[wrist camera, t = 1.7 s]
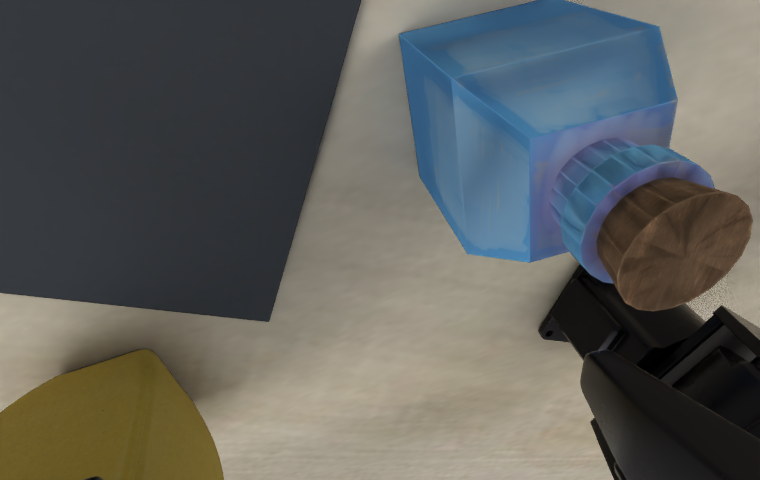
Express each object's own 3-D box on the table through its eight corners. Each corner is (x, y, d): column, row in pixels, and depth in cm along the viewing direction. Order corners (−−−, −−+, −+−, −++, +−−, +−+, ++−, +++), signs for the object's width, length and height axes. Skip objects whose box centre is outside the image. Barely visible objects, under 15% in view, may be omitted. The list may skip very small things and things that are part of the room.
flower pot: (242, 413, 28) (236, 588, 21) (95, 461, 28) (36, 656, 21) (170, 306, 23) (129, 487, 16) (-11, 363, 23) (-139, 575, 15)
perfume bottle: (398, 33, 18) (556, 166, 9) (552, -4, 19) (867, 83, 9) (419, 176, 22) (548, 384, 12) (548, 142, 22) (772, 318, 13)
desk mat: (404, -156, 15) (406, -157, 15) (268, 318, 25) (269, 322, 25) (-66, -385, 11) (-73, -392, 11) (-15, 286, 21) (-18, 291, 20)
